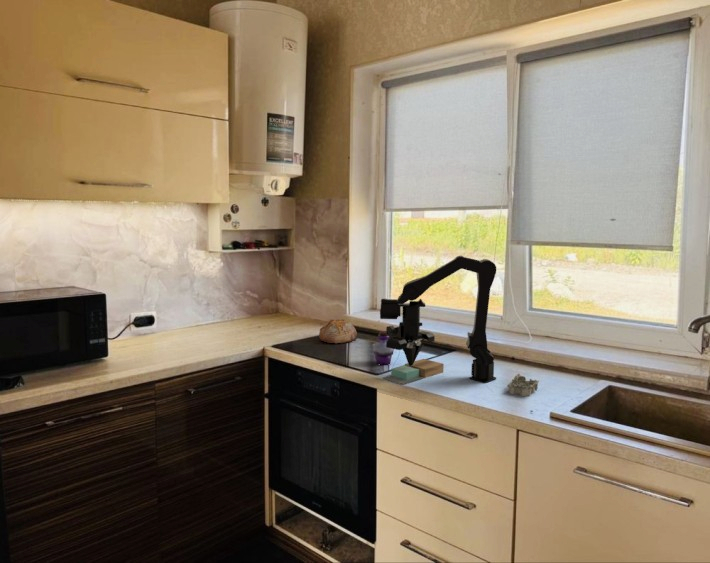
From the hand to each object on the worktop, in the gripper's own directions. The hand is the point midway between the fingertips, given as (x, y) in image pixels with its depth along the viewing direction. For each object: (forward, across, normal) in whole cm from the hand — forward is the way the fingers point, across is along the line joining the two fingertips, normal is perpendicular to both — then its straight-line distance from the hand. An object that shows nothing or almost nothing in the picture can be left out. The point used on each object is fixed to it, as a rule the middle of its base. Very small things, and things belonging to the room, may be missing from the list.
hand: (410, 365), depth 184 cm
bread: (+4, -19, -58) cm, 61 cm away
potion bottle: (+4, -5, -18) cm, 19 cm away
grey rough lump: (+4, -14, +34) cm, 37 cm away
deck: (+4, -7, 0) cm, 8 cm away
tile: (+2, +2, -1) cm, 3 cm away
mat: (+4, +4, 0) cm, 5 cm away
